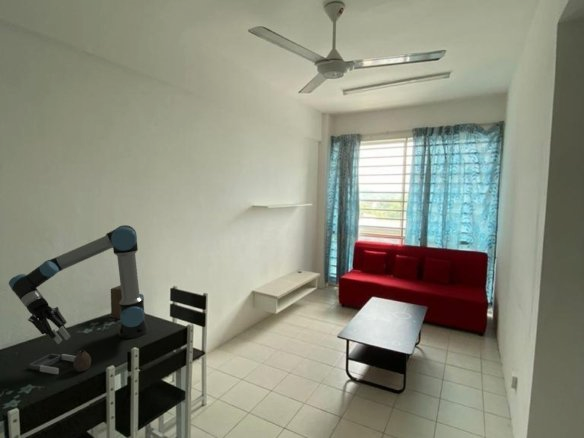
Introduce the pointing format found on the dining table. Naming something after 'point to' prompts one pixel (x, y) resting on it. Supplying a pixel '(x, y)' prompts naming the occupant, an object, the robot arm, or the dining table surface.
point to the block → (115, 301)
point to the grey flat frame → (45, 361)
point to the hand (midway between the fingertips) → (64, 340)
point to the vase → (82, 361)
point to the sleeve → (53, 369)
